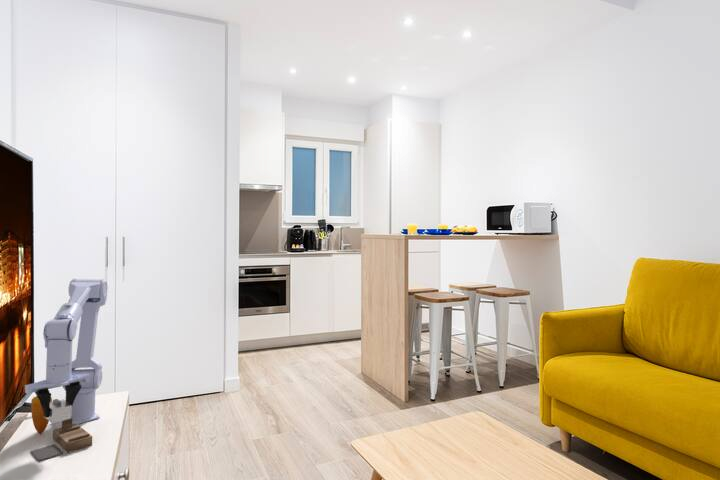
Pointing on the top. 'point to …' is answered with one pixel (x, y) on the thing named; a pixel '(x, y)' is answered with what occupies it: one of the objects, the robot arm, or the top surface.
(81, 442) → the body
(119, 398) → the top surface
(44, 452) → the rubber mat
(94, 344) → the robot arm
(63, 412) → the lever cap
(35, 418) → the carrot
